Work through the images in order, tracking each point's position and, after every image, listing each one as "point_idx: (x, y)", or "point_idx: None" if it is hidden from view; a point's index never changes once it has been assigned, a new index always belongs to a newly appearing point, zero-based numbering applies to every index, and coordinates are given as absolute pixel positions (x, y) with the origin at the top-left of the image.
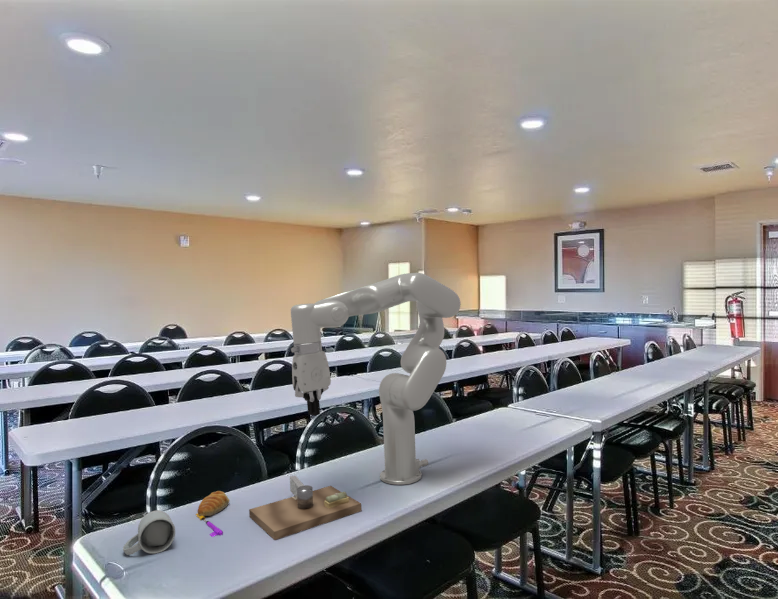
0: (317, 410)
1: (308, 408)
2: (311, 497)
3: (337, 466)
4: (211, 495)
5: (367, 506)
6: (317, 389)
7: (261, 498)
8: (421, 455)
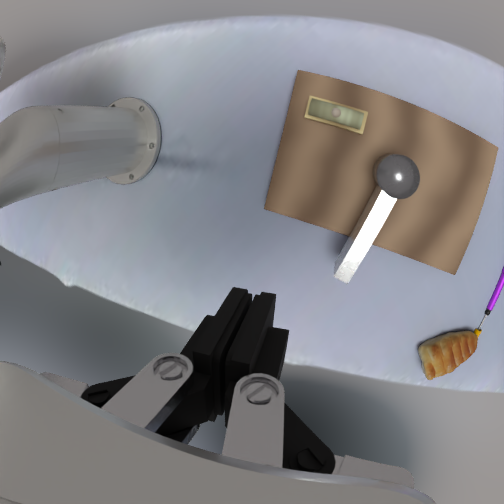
0: (244, 307)
1: (280, 370)
2: (390, 154)
3: (163, 294)
4: (445, 369)
5: (273, 80)
6: (160, 438)
7: (373, 316)
8: (55, 193)
